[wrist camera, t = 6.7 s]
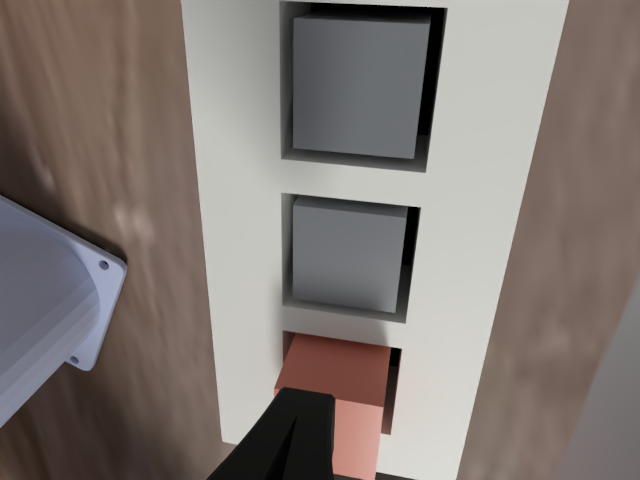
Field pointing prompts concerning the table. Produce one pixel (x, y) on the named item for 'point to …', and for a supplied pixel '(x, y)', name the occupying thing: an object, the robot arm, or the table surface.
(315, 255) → the grey button
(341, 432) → the red button
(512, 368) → the table surface
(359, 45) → the grey button
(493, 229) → the button panel
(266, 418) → the robot arm
